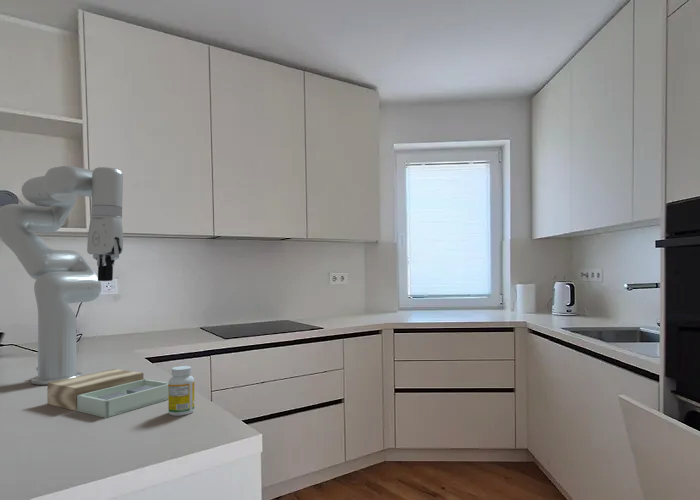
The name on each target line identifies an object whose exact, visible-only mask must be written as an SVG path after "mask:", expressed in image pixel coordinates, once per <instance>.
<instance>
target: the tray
mask: <svg viewBox="0 0 700 500" xmlns="http://www.w3.org/2000/svg"><path fill="white" fill-rule="evenodd" d="M145 385H147V386H153V387H154V388H151V389H147V390H143V391H139V392H135V393H131V394H128V395H124V396H120V397H116V398H112V399H108V400H105V399H100V398H97V397H100V396H104V395H108V394H113V393H117V392H121V393H126V394H127V390H128V389H132V388H136V387H141V386H145ZM164 400H165V401H168V382H166V381H158V380H155V379H154V380H153V379H146V378H144V379H143V380H139V381H135V382H131V383H126V384H122V385H118V386H114V387H110V388H105V389H101V390H97V391H93V392H89V393H84V394H80V395H77V412H79V413H84V414H89V415H92V416H95V417H100V418H104V419H106V418H110V417H114V416H118V415H121V414H124V413H127V412H131V411H134V410H138V409H141V408H144V407H148V406H150V405H154V404H157V403H160V402H164Z"/></svg>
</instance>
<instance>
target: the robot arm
mask: <svg viewBox="0 0 700 500" xmlns="http://www.w3.org/2000/svg"><path fill="white" fill-rule="evenodd" d="M123 191H124V174H123V172H122V170H120V169H117V168H114V167H107V166H106V167H105V166H104V167H103V166H102V167H101V166H99V167H95V168H94V169H87V168H83V167H77V166H71V165H60V166H57V167H56V166H55V167H52V168H50V169H48V170H47V171H46V173H45V174H44V175H42V176H37V177H33V178H29V179H28V180H26V181H25V182H24V183H23V184H22V187H21V194H22V196H23V198H24V199H25V200H26V201H27V202H29V203H31V204H25V203H24V204H23V203H11V204H10V203H9V204H4V205H2V206H1V207H0V240H1V241H2V242H3V244H5V246H7V248H9V250H10V251H12V252H13V254H14V255H15V257H17V259H18V261H19V262H20V264H21V265H22V267H23V268H24V270H25V272H26V273H27V274H28V275H29V276H30V278H32V279H34V280H35V281H34V286H33V291H34V297H35V300H36V306H37V328H38V329H37V366H36V368H35V370H36V371H37V376H34V377H32V378H31V381H30V382H31V384H32V385H38V386H39V385H48V383H49V382H54V381H58V380H63V379H68V378H73V377H78V376H83V372H81V371H77V318H76V314H75V312H74V310H73V309H72V308H71V307H70V305H69V304H75V303H76V304H77V303H87V302H88V303H89V302H92V301H94V300H96V299H98V297H100V295H101V293H102V284H101V283H102V282H111V281H113V280H114V279H113V278H114V277H113V274H114V266H115V261H116V260H118V259H120V254H122V252H123V250H124V230H123V221H122V220H123V201H124V200H123V194H124V193H123ZM78 196H80V197H81V196H83V197H89V198H91V202H90V203H91V205H90V207H91V208H90V209H91V210H90V213H91V214H90V220H89V225H88V226H89V227H88V233H87V242H86V243H87V244H86V245H87V246H86V247H87V248H86V252H87V253H88V255H92V259H94V260H96V265H97V273H96V271H95V270H94V269H93V268H92V266H91V265H90V263H89V262H88V261H87V259H86V258H85V257H84V256H83V255H82V254H81V253H79V252H77V251H75V250H67V249H66V250H65V249H62V250H61V249H53V248H50V247H49V246H48V245H47V244H46V241H45V240H43V238H42V237H40V236H38V235H37V234H35V233H55V232H57V231H58V230H60V229H61V227H62V226H63V225H64V224H65V223H64V222H65V221H66V219H67V218H68V216H69V215H70V213H71V212H72V210H73V208H74V207H75V204H76V202H77V199H78Z"/></svg>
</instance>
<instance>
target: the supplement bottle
mask: <svg viewBox="0 0 700 500" xmlns="http://www.w3.org/2000/svg"><path fill="white" fill-rule="evenodd" d="M191 373H192V367H191V366H190V365H180V366H173V367H172V368H171V376H172V377H170V379H169V380H168V382H167V383H168V400H167V401H168V408H167V409H168V415H170V416H172V417H173V416H175V417H178V416H180V417H181V416H187V415H190V414H191V413H193V412H194V411H195V378H194V376H192V375H191Z"/></svg>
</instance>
